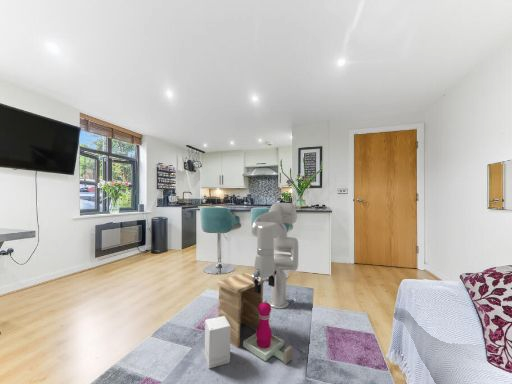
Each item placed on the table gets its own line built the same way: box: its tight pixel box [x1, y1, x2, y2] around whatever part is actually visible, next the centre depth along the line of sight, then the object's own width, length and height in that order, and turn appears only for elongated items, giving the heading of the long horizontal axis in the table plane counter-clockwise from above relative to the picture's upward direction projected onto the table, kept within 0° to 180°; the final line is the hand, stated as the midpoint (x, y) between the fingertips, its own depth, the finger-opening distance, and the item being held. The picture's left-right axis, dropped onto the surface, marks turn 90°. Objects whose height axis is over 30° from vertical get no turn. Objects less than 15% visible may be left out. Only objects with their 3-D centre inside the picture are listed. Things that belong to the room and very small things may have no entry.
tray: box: [242, 332, 293, 365], centre depth 99 cm, size 13×20×5 cm, turn 48°
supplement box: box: [204, 316, 231, 369], centre depth 94 cm, size 9×9×15 cm
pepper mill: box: [255, 298, 273, 348], centre depth 102 cm, size 7×7×20 cm
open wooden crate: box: [217, 272, 265, 349], centre depth 112 cm, size 19×14×26 cm
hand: (264, 289), depth 103 cm, fingers open, 9 cm apart
